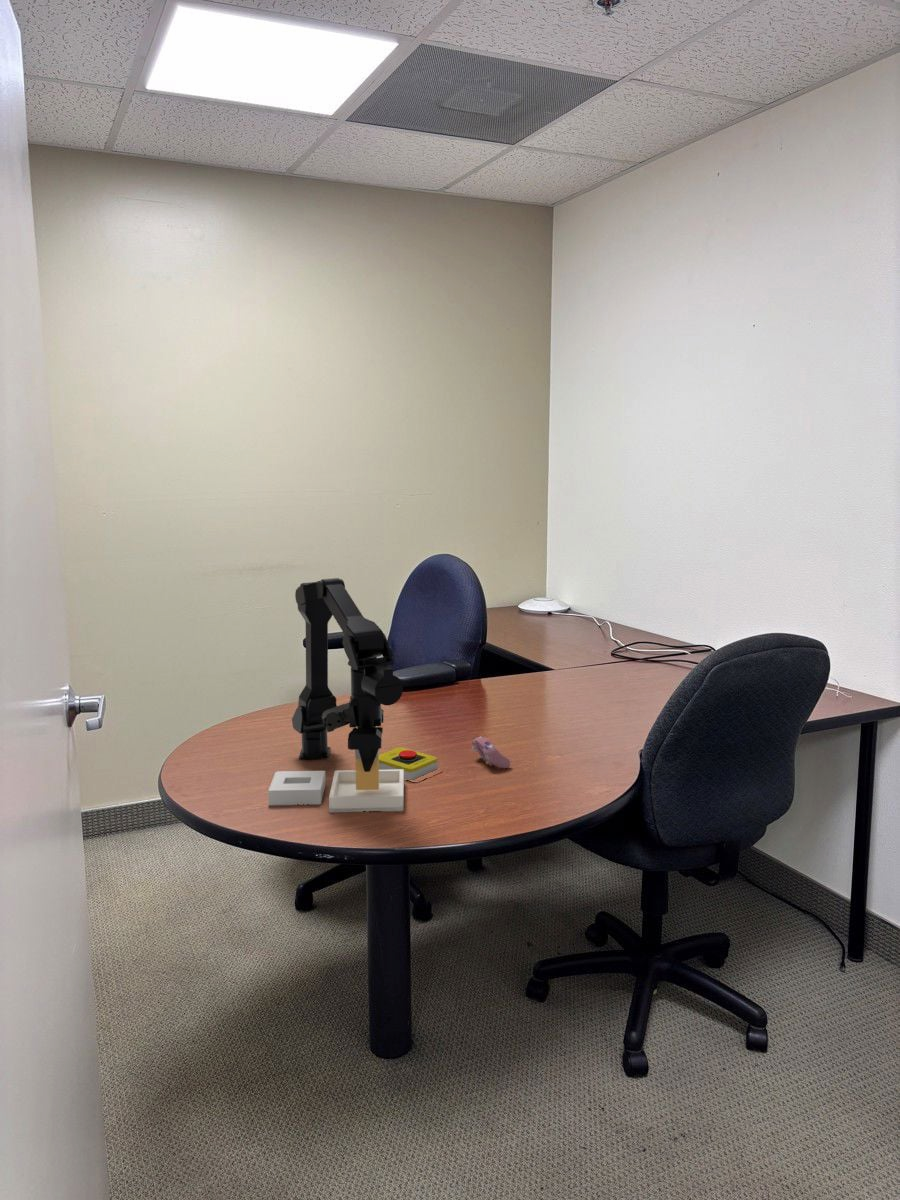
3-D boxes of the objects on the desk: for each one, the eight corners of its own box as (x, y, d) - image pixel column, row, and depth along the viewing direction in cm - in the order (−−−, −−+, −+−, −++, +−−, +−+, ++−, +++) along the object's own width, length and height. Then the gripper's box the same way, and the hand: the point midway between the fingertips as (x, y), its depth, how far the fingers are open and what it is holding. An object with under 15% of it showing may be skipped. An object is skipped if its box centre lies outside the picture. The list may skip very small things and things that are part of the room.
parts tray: (335, 784, 180) (335, 770, 180) (403, 783, 181) (403, 769, 180) (329, 812, 167) (329, 797, 166) (403, 811, 167) (403, 796, 167)
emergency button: (416, 765, 180) (363, 750, 189) (416, 786, 181) (364, 769, 190) (445, 753, 187) (393, 739, 196) (445, 773, 188) (393, 757, 197)
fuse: (356, 785, 175) (355, 746, 173) (379, 784, 175) (378, 746, 173) (356, 789, 172) (355, 751, 171) (378, 789, 172) (377, 750, 171)
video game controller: (477, 762, 197) (465, 737, 195) (494, 751, 198) (482, 726, 196) (496, 778, 188) (482, 752, 186) (513, 766, 189) (500, 740, 187)
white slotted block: (276, 785, 180) (275, 771, 179) (325, 784, 180) (325, 770, 180) (268, 805, 170) (268, 790, 169) (320, 804, 170) (320, 789, 170)
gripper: (328, 680, 179) (330, 753, 182) (319, 707, 161) (321, 788, 163) (383, 679, 179) (384, 752, 182) (380, 706, 161) (381, 786, 164)
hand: (367, 768), depth 173 cm, fingers closed on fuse, 2 cm apart
